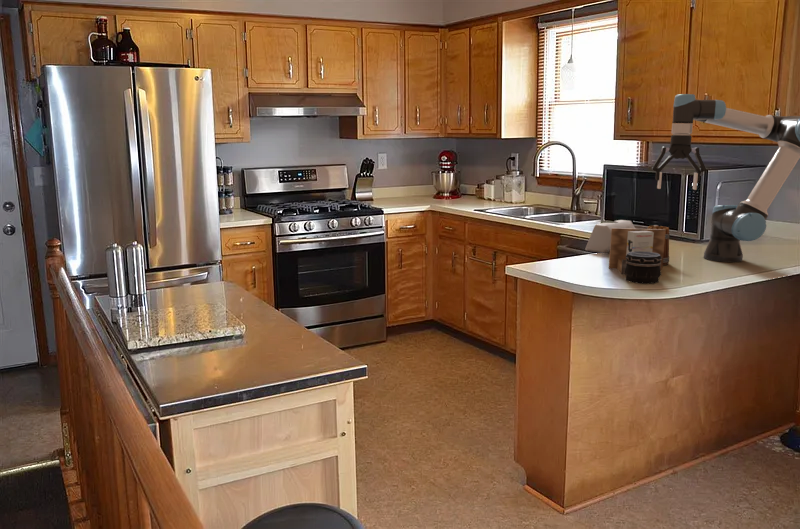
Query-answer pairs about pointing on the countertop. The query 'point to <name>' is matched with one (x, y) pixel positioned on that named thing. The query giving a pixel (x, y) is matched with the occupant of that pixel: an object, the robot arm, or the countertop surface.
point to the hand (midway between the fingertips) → (676, 189)
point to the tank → (604, 235)
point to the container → (643, 267)
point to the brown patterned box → (620, 246)
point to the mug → (666, 244)
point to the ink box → (640, 241)
